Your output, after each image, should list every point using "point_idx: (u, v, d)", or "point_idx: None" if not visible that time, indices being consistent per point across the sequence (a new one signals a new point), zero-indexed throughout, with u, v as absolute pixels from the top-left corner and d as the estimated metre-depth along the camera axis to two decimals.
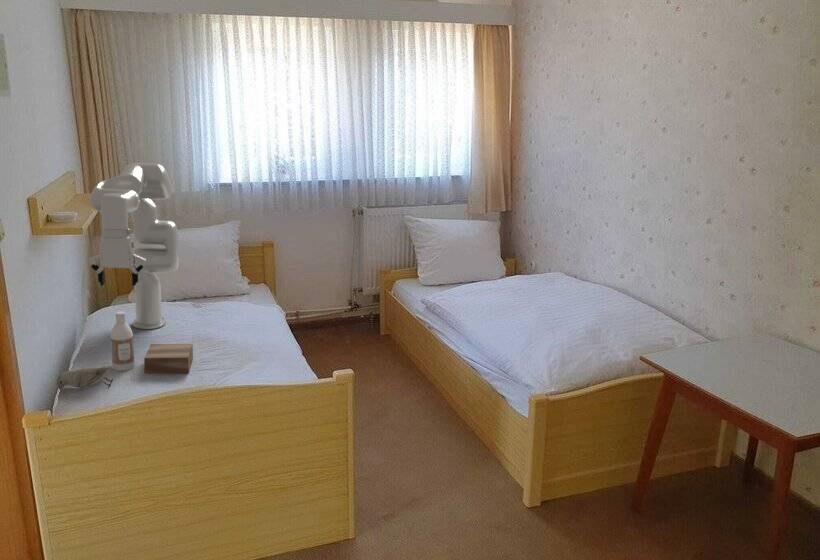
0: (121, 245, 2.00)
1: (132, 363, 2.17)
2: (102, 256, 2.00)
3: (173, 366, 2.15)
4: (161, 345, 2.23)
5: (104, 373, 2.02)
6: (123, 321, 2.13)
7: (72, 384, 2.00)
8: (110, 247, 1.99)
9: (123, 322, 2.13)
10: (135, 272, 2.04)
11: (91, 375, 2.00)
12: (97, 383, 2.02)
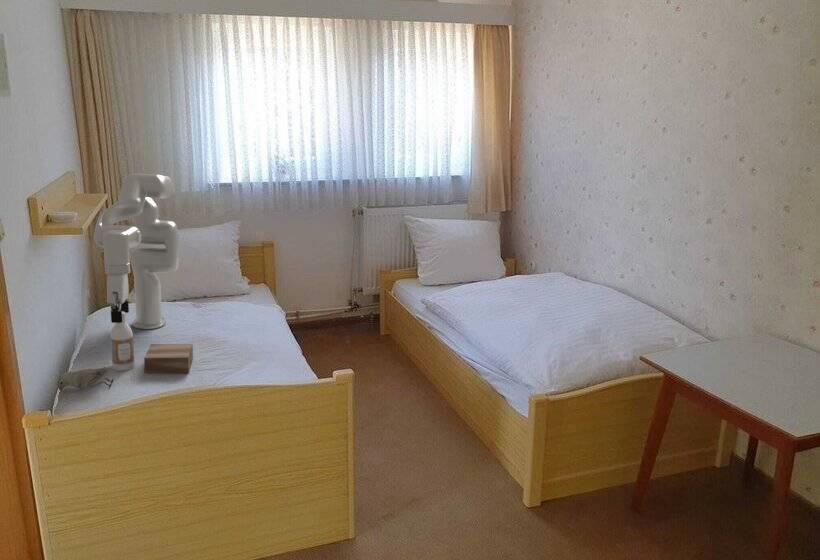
0: (127, 276, 2.11)
1: (132, 363, 2.17)
2: (123, 292, 2.07)
3: (173, 366, 2.15)
4: (161, 345, 2.23)
5: (105, 373, 2.02)
6: (123, 321, 2.13)
7: (73, 385, 1.99)
8: (125, 282, 2.08)
9: (123, 322, 2.13)
10: (127, 299, 2.17)
11: (92, 375, 1.99)
12: (98, 383, 2.01)
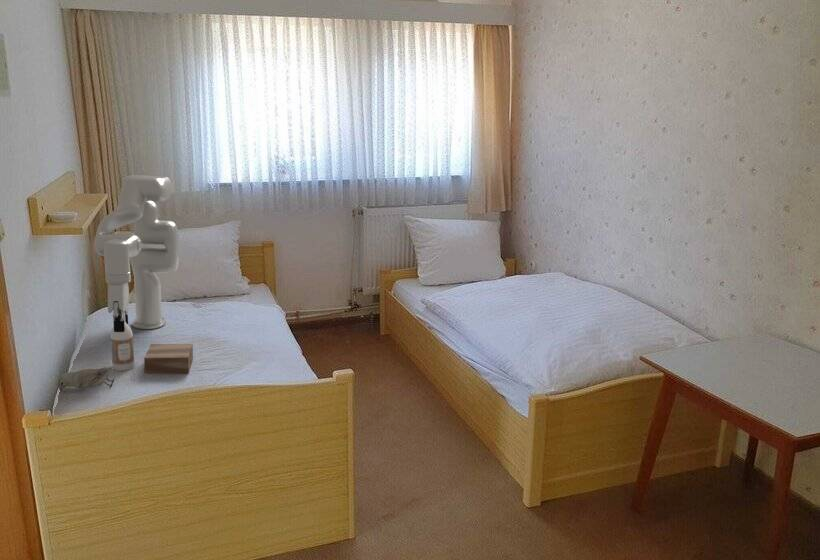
0: None
1: (132, 363, 2.17)
2: (124, 301, 2.08)
3: (173, 366, 2.15)
4: (161, 345, 2.23)
5: (105, 373, 2.02)
6: None
7: (73, 385, 1.99)
8: (126, 290, 2.09)
9: None
10: (126, 312, 2.16)
11: (93, 376, 1.99)
12: (98, 384, 2.01)
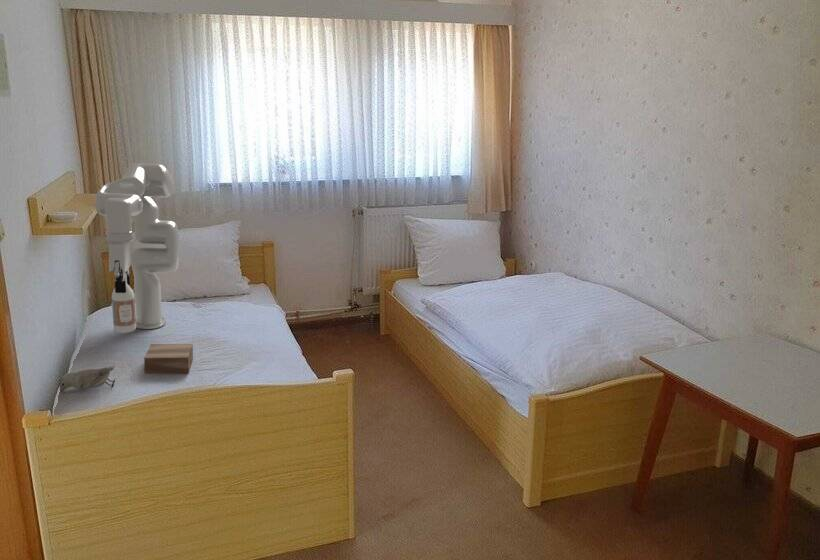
0: (129, 245, 2.08)
1: (134, 325, 2.13)
2: (125, 260, 2.04)
3: (173, 366, 2.15)
4: (161, 345, 2.23)
5: (107, 374, 2.01)
6: None
7: (74, 386, 1.99)
8: (127, 250, 2.06)
9: None
10: (128, 274, 2.13)
11: (94, 376, 1.99)
12: (100, 384, 2.01)
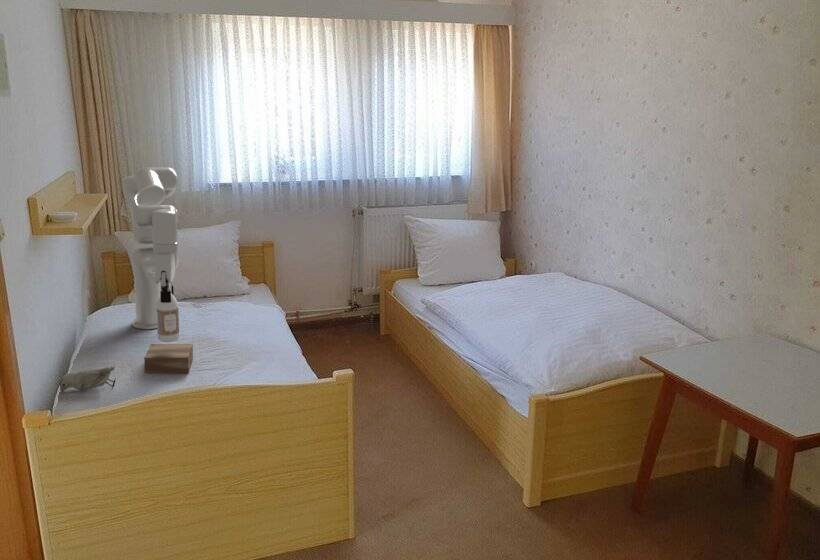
0: (174, 256, 2.12)
1: (177, 334, 2.17)
2: (171, 271, 2.08)
3: (173, 366, 2.15)
4: (161, 345, 2.23)
5: (107, 374, 2.01)
6: None
7: (75, 386, 1.99)
8: (173, 261, 2.09)
9: None
10: (172, 284, 2.16)
11: (95, 376, 1.99)
12: (101, 384, 2.01)
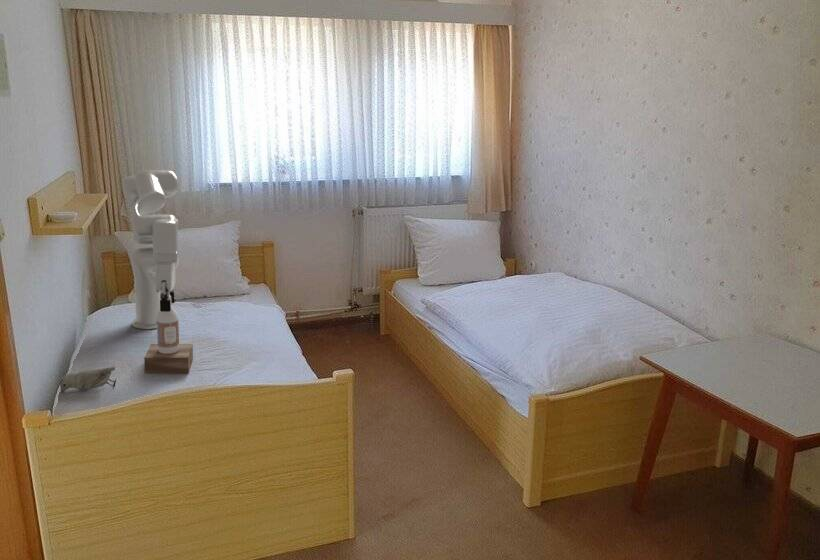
0: (174, 265, 2.13)
1: (177, 346, 2.19)
2: (171, 280, 2.09)
3: (173, 366, 2.15)
4: None
5: (108, 374, 2.01)
6: None
7: (76, 386, 1.98)
8: (173, 270, 2.10)
9: None
10: (173, 290, 2.18)
11: (95, 376, 1.99)
12: (101, 384, 2.01)
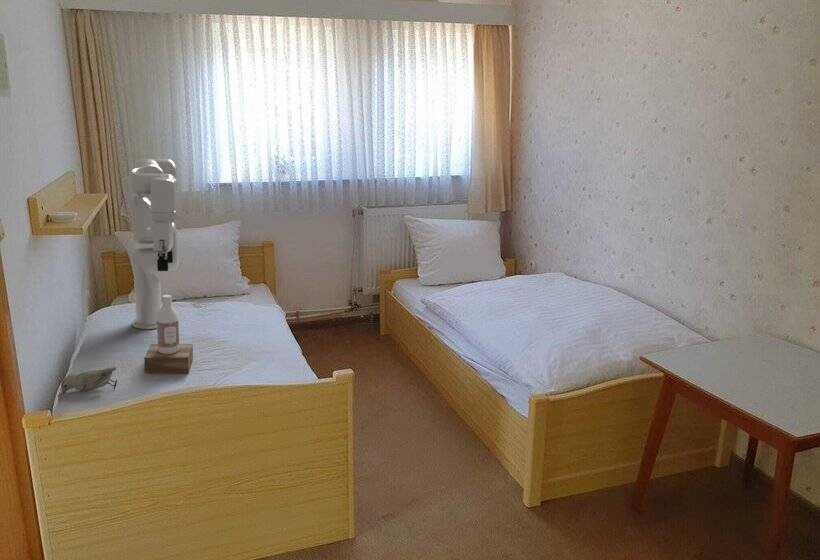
0: (172, 225, 2.10)
1: (177, 346, 2.19)
2: (169, 240, 2.05)
3: (173, 366, 2.15)
4: None
5: (109, 374, 2.01)
6: (170, 304, 2.14)
7: (77, 387, 1.98)
8: (171, 230, 2.07)
9: (169, 305, 2.14)
10: (171, 249, 2.15)
11: (97, 377, 1.99)
12: (102, 385, 2.01)
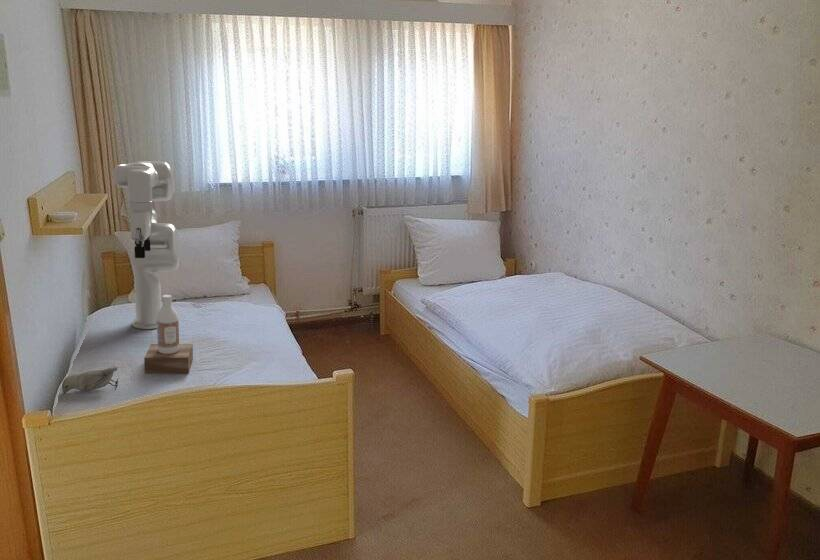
0: (149, 215, 2.21)
1: (177, 346, 2.19)
2: (146, 228, 2.17)
3: (173, 366, 2.15)
4: None
5: (110, 374, 2.01)
6: (170, 304, 2.14)
7: (78, 387, 1.98)
8: (148, 219, 2.18)
9: (169, 305, 2.14)
10: (149, 238, 2.27)
11: (98, 377, 1.99)
12: (104, 385, 2.01)
